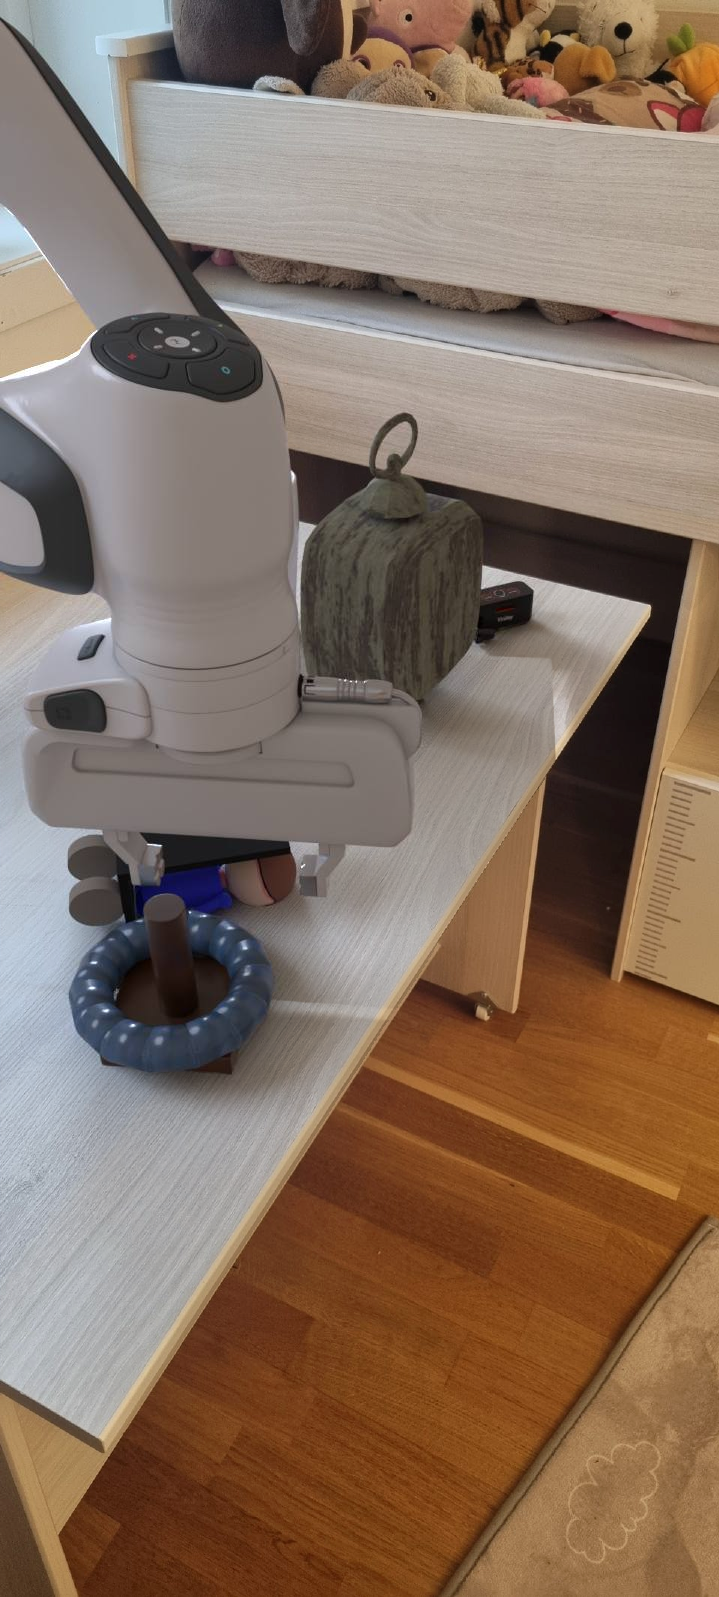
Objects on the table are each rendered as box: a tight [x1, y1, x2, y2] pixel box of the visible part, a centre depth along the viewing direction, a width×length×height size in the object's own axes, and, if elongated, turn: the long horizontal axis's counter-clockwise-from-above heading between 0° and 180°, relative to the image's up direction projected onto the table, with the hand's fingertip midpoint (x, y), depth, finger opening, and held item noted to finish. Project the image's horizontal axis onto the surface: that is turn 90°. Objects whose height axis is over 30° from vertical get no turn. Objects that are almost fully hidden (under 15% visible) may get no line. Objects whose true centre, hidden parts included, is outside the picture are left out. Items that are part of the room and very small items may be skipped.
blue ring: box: [68, 909, 276, 1074], centre depth 73 cm, size 12×12×3 cm
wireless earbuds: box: [473, 580, 535, 645], centre depth 111 cm, size 5×7×3 cm, turn 114°
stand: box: [99, 894, 240, 1075], centre depth 71 cm, size 8×8×10 cm
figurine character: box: [67, 832, 297, 927], centre depth 80 cm, size 7×8×15 cm
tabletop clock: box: [299, 411, 484, 706], centre depth 94 cm, size 14×9×25 cm, turn 150°
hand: (231, 884), depth 67 cm, fingers open, 8 cm apart
